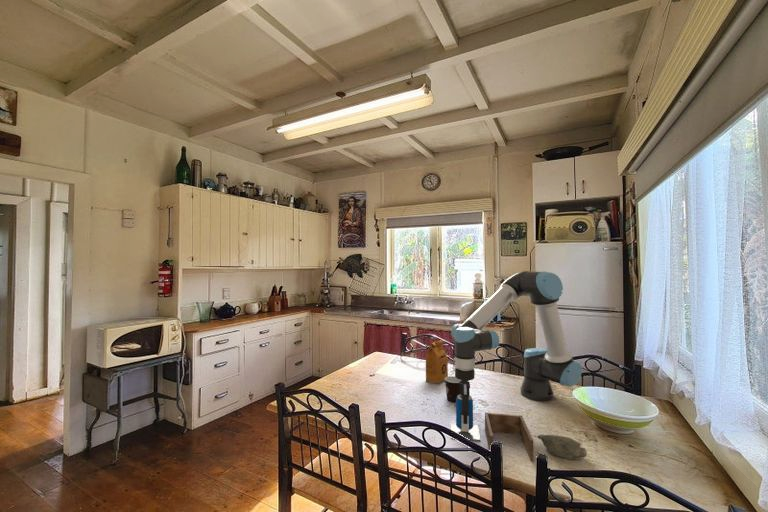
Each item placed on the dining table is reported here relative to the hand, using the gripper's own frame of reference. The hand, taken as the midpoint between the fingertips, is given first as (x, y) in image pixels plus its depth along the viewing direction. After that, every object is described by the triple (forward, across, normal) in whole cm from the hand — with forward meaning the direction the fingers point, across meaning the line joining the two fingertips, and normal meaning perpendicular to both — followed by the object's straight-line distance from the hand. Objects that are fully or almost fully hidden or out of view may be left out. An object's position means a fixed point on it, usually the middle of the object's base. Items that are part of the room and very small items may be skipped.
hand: (464, 426), depth 130 cm
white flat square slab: (+2, 0, 0) cm, 2 cm away
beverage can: (+1, 0, 0) cm, 1 cm away
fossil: (+3, +7, +32) cm, 33 cm away
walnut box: (+2, +6, +15) cm, 16 cm away
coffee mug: (+3, -31, -4) cm, 31 cm away
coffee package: (+3, -54, -13) cm, 56 cm away
